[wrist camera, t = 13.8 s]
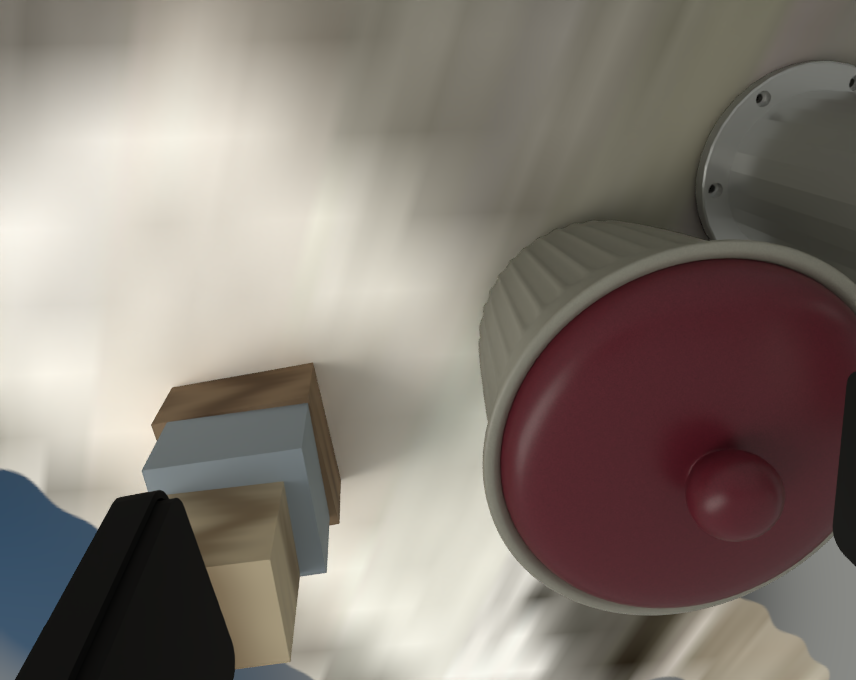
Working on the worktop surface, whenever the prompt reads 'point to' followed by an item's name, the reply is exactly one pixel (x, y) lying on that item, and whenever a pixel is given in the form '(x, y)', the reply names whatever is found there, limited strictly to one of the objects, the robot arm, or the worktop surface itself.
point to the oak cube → (249, 566)
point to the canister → (663, 413)
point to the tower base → (256, 395)
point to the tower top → (250, 467)
